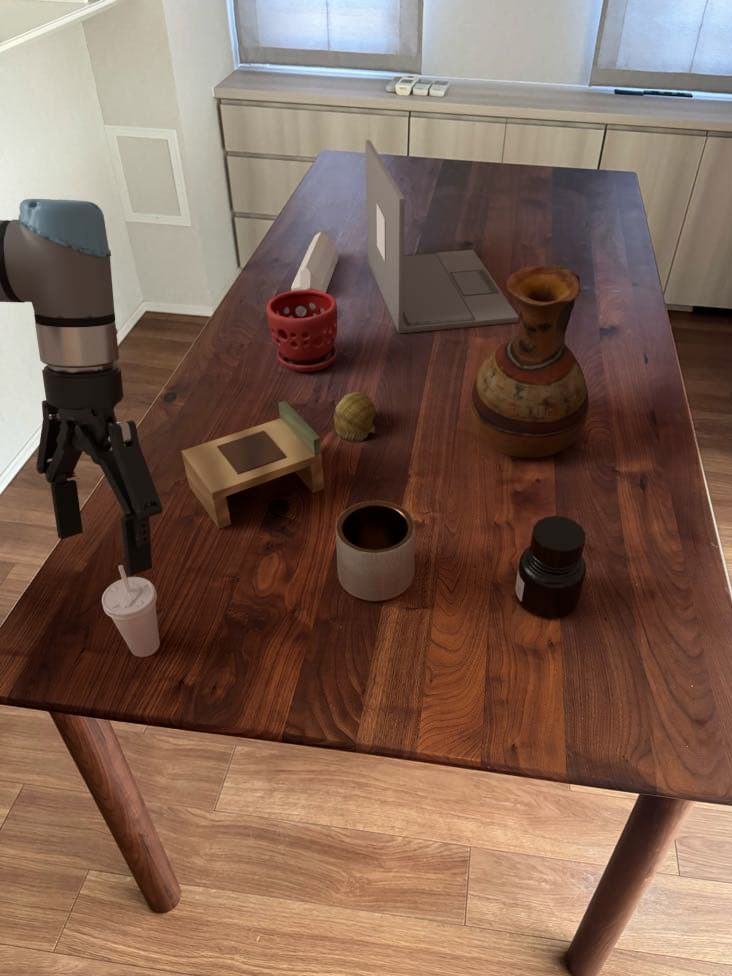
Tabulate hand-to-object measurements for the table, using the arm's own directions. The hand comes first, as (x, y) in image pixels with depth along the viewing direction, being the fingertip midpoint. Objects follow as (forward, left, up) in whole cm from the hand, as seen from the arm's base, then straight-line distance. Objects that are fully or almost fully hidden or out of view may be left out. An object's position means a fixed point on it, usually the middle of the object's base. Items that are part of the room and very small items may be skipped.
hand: (103, 552), depth 90 cm
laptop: (+91, +65, -18) cm, 113 cm away
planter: (+33, -4, -18) cm, 38 cm away
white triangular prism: (+71, +85, -18) cm, 112 cm away
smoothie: (+1, +1, -18) cm, 18 cm away
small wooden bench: (+27, +23, -18) cm, 40 cm away
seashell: (+49, +29, -18) cm, 60 cm away
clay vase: (+73, +12, -18) cm, 76 cm away
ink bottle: (+51, -20, -18) cm, 58 cm away
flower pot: (+52, +54, -18) cm, 77 cm away
